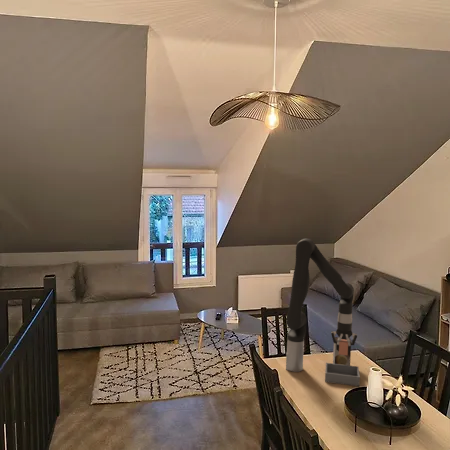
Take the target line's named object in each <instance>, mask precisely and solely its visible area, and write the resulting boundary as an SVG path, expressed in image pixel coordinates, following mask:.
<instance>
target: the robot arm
mask: <svg viewBox="0 0 450 450" xmlns="http://www.w3.org/2000/svg"><path fill="white" fill-rule="evenodd" d="M310 260H312V261H313V262H314V263H315V265H316V267H317V268H318V269H319V271H320V274H322V276H323V277H324V278H325V279H326V281H328V283H330V285H331V286H332V287H333V289H334V290H335V292H336V293H337V294H338V296H340V298H339V299H340V301H339V303H338V311H337V312H338V313H337V323H336V325H337V327H336V330H335V331H331V338H332V342H333V344H334V343H336V344H337V348H336V349H337V350H338V351H339V341H341V339H345V340H347V342H348V352H350V346H351V347H352V346H355V344H356V340H357V338H358V334H357V333H354V332H353V301H354V294H355V289H354V288H355V287H354V286H353V285H352V284H351V283H349V282H346V281H345V280H344V279H343V276H342V275H341V273H339V272H338V270H336V268H334V266H333V265H332V264H331V262H329V261H328V260H327V258H326V257H325V256H324V255H323V253H322V252H321V251H320V249H319V248H318V247H317V245H316V243H315V242H314V240H312V239H311V238H305V237H304V238H302V239H301V240H299V241H298V242H297V243H296V245H295V265H294V269H293V275H292V282H291V288H290V289H291V291H290V298H289V299H290V300H289V305H288V311H287V314H286V319H285V320H286V321H285V322H286V326H287V327H288V329H289V331H288V333H287V340H286V341H287V343H286V355H285V356H286V358H285V359H286V361H285V362H286V363H285V371H288V372H289V371H290V372H293V373H294V372H295V373H299V372H301V371H303V369H304V348H305V337H306V332H307V316H306V314H305V313H304V311H302V309H303V305H304V302H305V300H306V298H307V295H308V293H309V287H310V270H309V269H310V268H309V265H310ZM336 335H337V337H338V340H337V341H336V340H335V337H336ZM351 337H352V340H351V339H350V340H351V342H350V340H349V338H351Z"/></svg>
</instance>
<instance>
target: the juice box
mask: <svg viewBox="0 0 450 450" xmlns="http://www.w3.org/2000/svg"><path fill="white" fill-rule="evenodd" d="M339 355H348V342H347V340H345V339H341V341H339Z"/></svg>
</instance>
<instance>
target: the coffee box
mask: <svg viewBox="0 0 450 450" xmlns="http://www.w3.org/2000/svg"><path fill="white" fill-rule="evenodd" d="M338 337H339V336H337V337H336V336H335V340H336V341H337V340H338ZM350 338H351V337H350ZM350 338H349V340H350V342H352V340H351V339H350ZM336 348H337V344H336V343H334V342H333V354H332V356H333V357H332V358H333V359H332V363H333V364H341V365H349V366H351V357H352V356H351V353H352V345H351V346H350V352H348V355H339V351H338V350H337V349H336Z"/></svg>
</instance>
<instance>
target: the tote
mask: <svg viewBox="0 0 450 450" xmlns="http://www.w3.org/2000/svg"><path fill="white" fill-rule="evenodd" d="M324 372H325V373H324V374H325V375H324V383H329V384H330V383H331V384H338V385H345V386H354V387H360V380H361V376H360V368H359V366H357V365H356V366H355V365H350V366H349V365H341V364H333V362H332V363H331V362H325V369H324Z"/></svg>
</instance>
